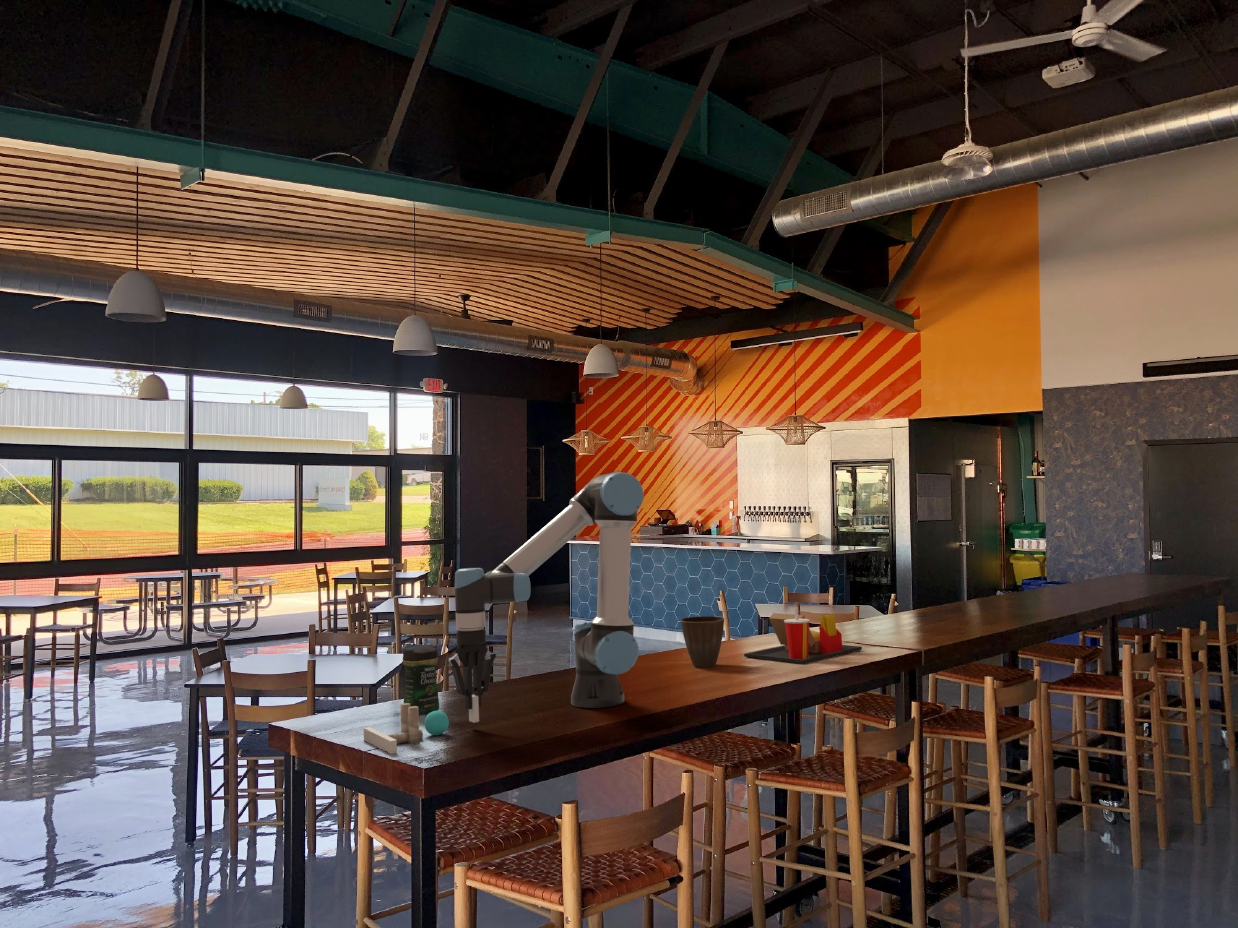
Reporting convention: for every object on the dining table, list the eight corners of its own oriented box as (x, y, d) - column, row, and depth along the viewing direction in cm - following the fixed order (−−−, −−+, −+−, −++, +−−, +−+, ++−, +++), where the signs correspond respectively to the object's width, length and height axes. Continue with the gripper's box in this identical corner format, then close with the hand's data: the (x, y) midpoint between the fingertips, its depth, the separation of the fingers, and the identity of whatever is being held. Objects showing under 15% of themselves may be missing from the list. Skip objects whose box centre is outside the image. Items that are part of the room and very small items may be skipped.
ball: (416, 727, 232) (435, 739, 234) (425, 728, 227) (444, 740, 229) (428, 705, 235) (447, 717, 237) (437, 706, 230) (456, 717, 232)
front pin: (419, 728, 229) (386, 733, 225) (422, 730, 227) (389, 736, 223) (419, 737, 229) (385, 743, 225) (422, 740, 227) (389, 746, 223)
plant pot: (728, 668, 307) (726, 620, 308) (683, 670, 308) (681, 622, 308) (724, 661, 322) (722, 615, 323) (681, 663, 323) (679, 617, 323)
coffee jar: (414, 717, 253) (412, 649, 254) (399, 713, 259) (397, 646, 260) (444, 711, 260) (442, 644, 261) (429, 707, 266) (427, 642, 266)
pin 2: (417, 740, 226) (415, 705, 227) (420, 742, 225) (419, 707, 225) (407, 742, 225) (406, 707, 226) (411, 744, 223) (410, 708, 224)
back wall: (369, 739, 230) (369, 726, 230) (397, 752, 216) (396, 739, 216) (363, 740, 229) (363, 727, 230) (390, 754, 215) (390, 741, 215)
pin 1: (409, 737, 231) (408, 702, 231) (412, 738, 229) (411, 704, 229) (399, 738, 229) (398, 704, 230) (403, 740, 227) (402, 705, 228)
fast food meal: (862, 652, 333) (859, 600, 334) (802, 666, 309) (799, 610, 310) (804, 646, 352) (801, 597, 353) (744, 659, 328) (741, 606, 329)
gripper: (487, 624, 245) (490, 714, 244) (441, 630, 237) (444, 722, 236) (500, 626, 239) (503, 719, 238) (453, 632, 231) (457, 727, 230)
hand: (474, 721), depth 237 cm, fingers closed
